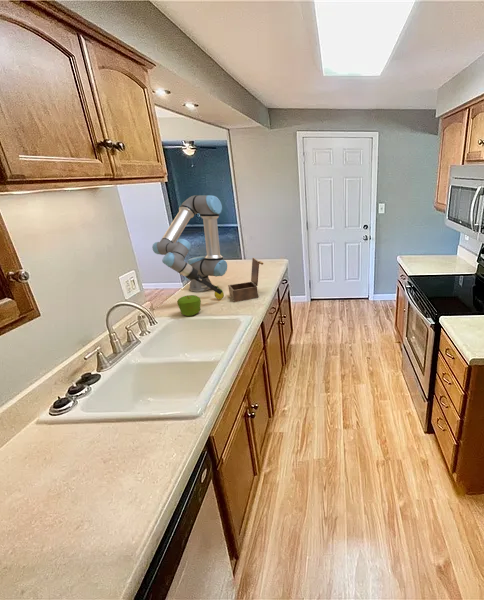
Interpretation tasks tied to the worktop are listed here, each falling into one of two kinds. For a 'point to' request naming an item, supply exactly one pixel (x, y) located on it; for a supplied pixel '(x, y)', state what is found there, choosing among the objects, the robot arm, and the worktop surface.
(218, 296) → the lemon
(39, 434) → the worktop surface
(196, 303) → the apple
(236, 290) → the chest
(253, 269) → the lid
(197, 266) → the robot arm
